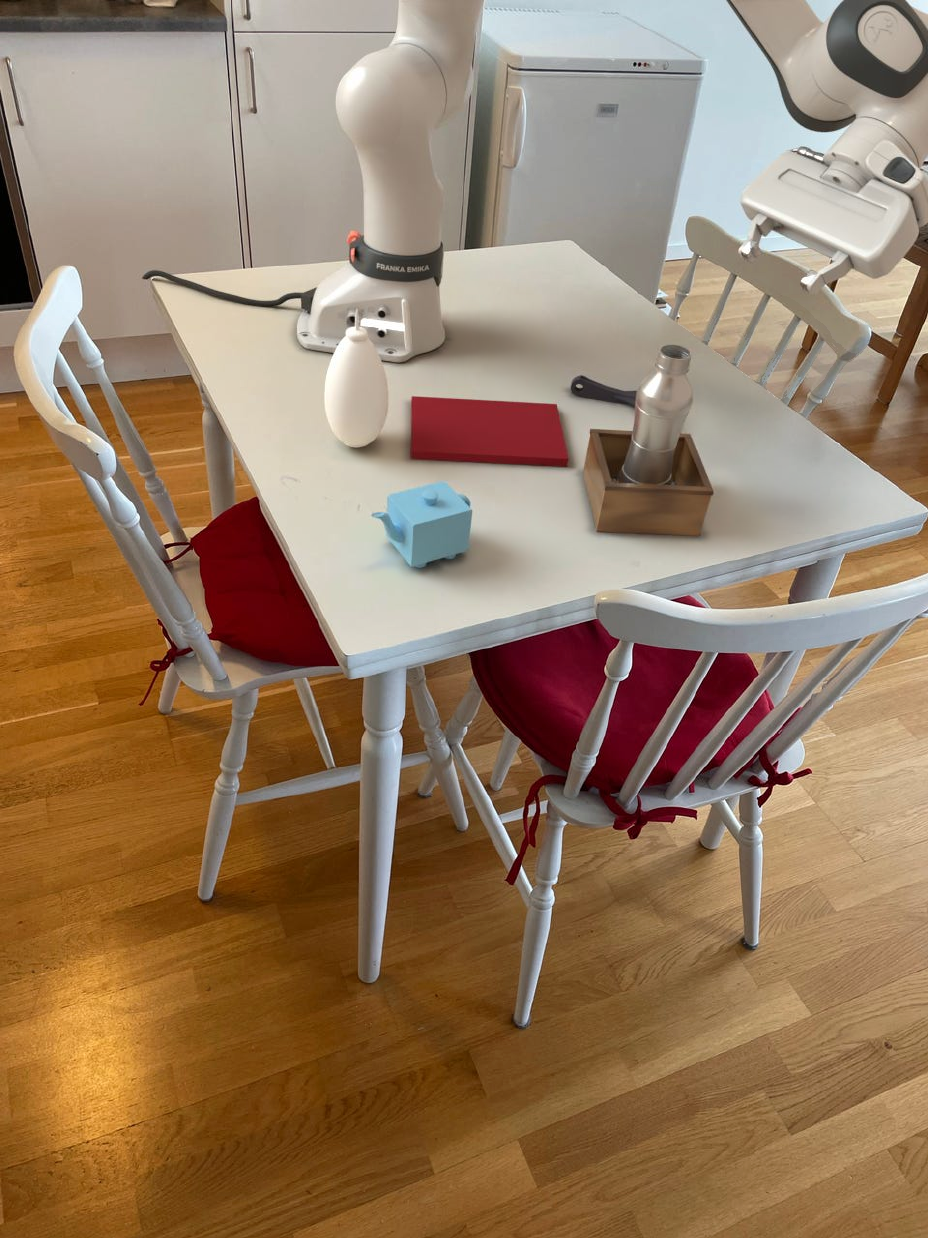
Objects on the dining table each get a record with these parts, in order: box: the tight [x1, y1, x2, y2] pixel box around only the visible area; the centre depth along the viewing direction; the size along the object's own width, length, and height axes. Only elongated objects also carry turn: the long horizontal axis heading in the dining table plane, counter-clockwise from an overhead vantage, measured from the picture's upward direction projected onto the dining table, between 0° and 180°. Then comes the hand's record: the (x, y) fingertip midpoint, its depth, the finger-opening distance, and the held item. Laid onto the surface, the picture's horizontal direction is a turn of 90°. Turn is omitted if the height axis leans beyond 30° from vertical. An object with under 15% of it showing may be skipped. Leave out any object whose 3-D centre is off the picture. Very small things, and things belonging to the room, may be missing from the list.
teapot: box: [370, 480, 473, 569], centre depth 104 cm, size 12×6×8 cm, turn 120°
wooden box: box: [582, 428, 715, 537], centre depth 116 cm, size 13×13×6 cm
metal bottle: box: [616, 343, 694, 485], centre depth 111 cm, size 6×7×20 cm
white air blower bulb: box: [323, 309, 389, 448], centre depth 117 cm, size 8×8×18 cm
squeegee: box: [570, 374, 637, 407], centre depth 136 cm, size 14×15×3 cm
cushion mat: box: [410, 395, 569, 467], centre depth 127 cm, size 20×14×1 cm
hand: (774, 273), depth 105 cm, fingers open, 8 cm apart
